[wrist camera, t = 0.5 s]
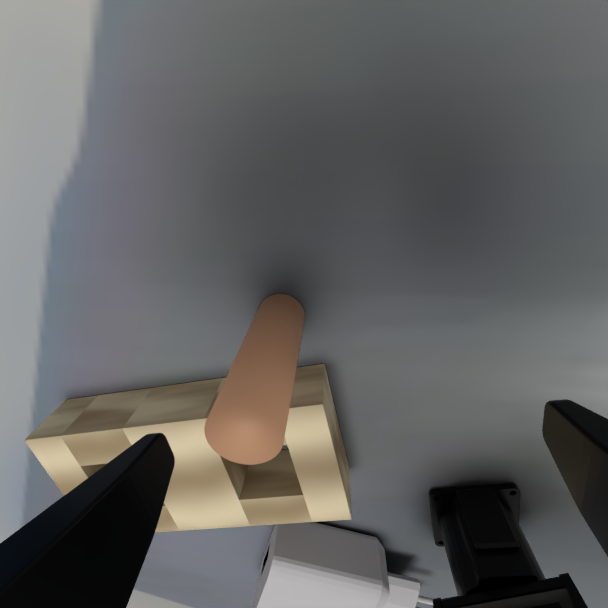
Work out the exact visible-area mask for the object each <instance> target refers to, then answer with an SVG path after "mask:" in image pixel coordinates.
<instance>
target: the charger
mask: <svg viewBox="0 0 608 608" xmlns="http://www.w3.org/2000/svg"><path fill="white" fill-rule="evenodd" d="M269 545H270V547H269ZM268 547H269V553H268V558H267V561H266V564H265V566H264V565H263V562H264V559H265V556H266V553H267V550H268ZM419 591H420V583H419V582H418V580H417V579H414V578H410V577H406V576H402V575H398V574H393V573H389V572H387V565H386V557H385V550H384V548H383V546H382V545H381V543H380V542H379V540H378V539H377V538H376V537H373V536H369V535H365V534H361V533H357V532H353V531H349V530H345V529H340V528H336V527H332V526H328V525H324V524H320V523H316V522H304V523H289V524H275V526H274V529H273V532H272V534H271V537H270V540H269V543H268V546H267V549H266V552H265V554H264V557H263V560H262V563H261V567H260V571H259V575H258V581H257V587H256V592H255V598H254V604H253V608H420V607H416V603H417V602H421V603H425V604H430V605H433V599H432V598H428V597H423V596H419Z"/></svg>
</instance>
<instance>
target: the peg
mask: <svg viewBox="0 0 608 608" xmlns="http://www.w3.org/2000/svg"><path fill="white" fill-rule="evenodd" d="M304 321H305V313H304V309H303V307H302V305H301V304H300V303H299V302H298V301H297V300H296V299H295V298H293V297H291V296H289V295H285V294H274V295H271V296H269V297H267V298H266V299H264V300H263V301H262V303H261V304H260V306H259V308H258V310H257V313H256V315H255V317H254V319H253V321H252V323H251V326H250V328H249V330H248V332H247V334H246V336H245V338H244V341H243V343H242V345H241V347H240V349H239V351H238V353H237V356H236V358H235V360H234V362H233V364H232V366H231V369H230V371H229V373H228V375H227V377H226V379H225V381H224V384H223V386H222V388H221V390H220V392H219V394H218V397H217V399H216V401H215V403H214V405H213V407H212V409H211V412H210V414H209V416H208V418H207V420H206V423H205V427H204V433H205V437H206V440H207V442H208V444H209V445H210V446H211V448H212V449H213V450H214V451H215V452H216V453H217V454H219V455H220V456H222V457H223V458H225V459H227V460H229V461H232V462H235V463H239V464H245V465H255V464H261V463H265V462H267V461H269V460H271V459H273V458H274V457H276V456H277V455H278V453H279V452H280V451H281V449H282V447H283V443H284V437H285V431H286V425H287V420H288V414H289V408H290V402H291V396H292V391H293V385H294V379H295V373H296V367H297V361H298V356H299V350H300V344H301V338H302V332H303V327H304Z"/></svg>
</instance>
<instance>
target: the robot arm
mask: <svg viewBox="0 0 608 608" xmlns="http://www.w3.org/2000/svg"><path fill="white" fill-rule="evenodd" d="M542 431H543V437H544V440H545V442H546V444H547V446H548V448H549V450H550V452H551V454H552V457H553V459H554V461H555V463H556V465H557V467H558V469H559V471H560V473H561V475H562V477H563V479H564V481H565V483H566V485H567V487H568V489H569V491H570V493H571V495H572V497H573V499H574V501H575V503H576V505H577V507H578V509H579V510H580V512H581V514H582V516H583V517H584V519H585V521H586V522H587V524H588V526H589V527H590V529H591V531H592V532H593V534H594V535H595V537H596V539H597V540H598V542H599V544H600V545H601V547H602V548H603V550H604V552H605V553H606V555H607V556H608V419H606V418H605V417H603V416H601V415H599V414H597V413H595V412H593V411H591V410H589V409H587V408H585V407H583V406H581V405H579V404H577V403H575V402H573V401H570V400H553V401H548V402H547V403H546V405H545V410H544V419H543V430H542ZM174 465H175V458H174V454H173V452H172V450H171V447H170V445H169V443H168V440H167V438H166V436H165V435H164V434H163V433H151V434H147V435H145V436H143V437H142V438H141V439H139V440H138V441H137V442H135V443H134V444H133V445H131V446H130V447H129V448H127V449H126V450H125V451H123V452H122V453H121V454H119V455H118V456H117V457H115V458H114V459H113V460H111V461H110V462H109V463H107V464H106V465H105V466H103V467H102V468H101V469H99V470H98V471H97V472H95V473H94V474H93V475H91V476H90V477H89V478H87V479H86V480H85V481H83V482H82V483H81V484H79V485H78V486H77V487H75V488H74V489H73V490H71V491H70V492H69V493H67V494H66V495H65V496H63V497H62V498H60V499H59V500H58V501H56V502H55V503H54V504H52V505H51V506H50V507H48V508H47V509H46V510H44V511H43V512H42V513H40V514H39V515H38V516H36V517H35V518H34V519H32V520H31V521H30V522H28V523H27V524H26V525H24V526H23V527H22V528H20V529H19V530H18V531H16V532H15V533H14V534H13V535H11V536H10V537H9V538H7V539H6V540H4V541H3V542H2V543H0V608H126V606H127V604H128V601H129V598H130V596H131V594H132V591H133V588H134V586H135V583H136V581H137V578H138V575H139V573H140V570H141V568H142V565H143V562H144V560H145V557H146V555H147V552H148V549H149V547H150V544H151V542H152V539H153V536H154V533H155V531H156V528H157V525H158V521H159V518H160V515H161V511H162V508H163V504H164V501H165V497H166V494H167V490H168V487H169V483H170V480H171V476H172V472H173V469H174ZM429 499H430V508H431V517H432V526H433V534H434V541H435V544H436V545H437V546H445V550H446V553H447V557H448V561H449V564H450V568H451V572H452V575H453V579H454V583H455V586H456V590H457V594H458V596H456V597H451V598H445V599H441V598H436V599H433V608H588V607H587V605H586V604H585V602H584V600H583V598H582V597H581V595H580V593H579V591H578V590H577V588H576V586H575V584H574V583H573V581H572V579H571V577H570V576H569V574H568V573H565V574H560V575H559V576H560V577H554V578H549V579H545V577H544V575H543V573H542V571H541V569H540V566H539V564H538V562H537V560H536V558H535V556H534V554H533V552H532V550H531V548H530V546H529V544H528V542H527V540H526V538H525V535H524V533H523V531H522V529H521V527H520V525H519V510H520V490H519V489H518V487H517V485H515V484H500V485H487V486H474V487H460V488H447V489H435V490H432V491H430V492H429Z"/></svg>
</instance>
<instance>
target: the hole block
mask: <svg viewBox="0 0 608 608" xmlns="http://www.w3.org/2000/svg"><path fill="white" fill-rule="evenodd" d="M225 379H226V378H219V379H211V380H204V381H197V382H190V383H183V384H176V385H169V386H161V387H154V388H147V389H140V390H133V391H126V392H118V393H111V394H104V395H97V396H90V397H83V398H75V399H68V400H66V401H65V402H64V403H63V404H62V405H61V406H60V407H59V408H58V409H57V410H55V411H54V412H53V413H52V414H51V415H50V416H49V417H48V418H47V419H46V420H45V421H44V422H43V423H42V424H41V425H40V426H39V427H38V428H37V429H36V430H35V431H33V432H32V433H31V434H30V435H29V436H28V437H27V438H26V439H25V442H26V443H27V445H28V446H29V447H30V449H31V450H32V452H33V453H34V454H35V456H36V457H37V459H38V460H39V461H40V463H41V464H42V465H43V467H44V468H45V470H46V471H47V472H48V474H49V475H50V477H51V478H52V479H53V481H54V482H55V483H56V485H57V486H58V488H59V489H60V490H61V492H62V493H63V495H64V496H65V495H66V494H67V493H69V492H70V491H71V490H73V489H74V488H75V487H77V486H78V485H79V484H81V483H82V482H83V481H85V480H86V479H87V478H89V477H90V476H91V475H93V474H94V473H95V472H97V471H98V470H99V469H101V468H102V467H103V466H105V465H106V464H107V463H109V462H110V461H111V460H113V459H114V458H115V457H117V456H118V455H119V454H121V453H122V452H123V451H125V450H126V449H127V448H129V447H130V446H131V445H133V444H134V443H135V442H137V441H138V440H139V439H141V438H142V437H143V436H145V435H147V434H151V433H163V434H164V435H165V436H166V438H167V440H168V443H169V445H170V447H171V450H172V452H173V454H174V458H175V465H174V469H173V472H172V476H171V480H170V483H169V487H168V490H167V494H166V497H165V501H164V504H163V508H162V511H161V515H160V518H159V521H158V525H157V528H156V531H155V532H166V531H181V530H196V529H212V528H227V527H243V526H258V525H273V524H289V523H304V522H320V521H335V520H351V519H352V516H351V494H350V472H349V466H348V461H347V457H346V453H345V448H344V444H343V440H342V436H341V431H340V427H339V423H338V419H337V414H336V410H335V406H334V402H333V397H332V393H331V389H330V385H329V380H328V376H327V372H326V368H325V364H319V365H312V366H305V367H297V368H296V373H295V379H294V385H293V391H292V396H291V402H290V408H289V414H288V420H287V425H286V431H285V437H284V443H283V445H287V446H288V449H284V450H281V451H280V452H279V453H278V455H277V456H276V457H274V458H273V459H271V460H269V461H267V462H265V463H261V464H255V465H245V464H239V463H235V462H232V461H229V460H227V459H225V458H223V457H222V456H220V455H219V454H217V453H216V452H215V451H214V450H213V449H212V448H211V446H210V445H209V444H208V442H207V440H206V437H205V433H204V427H205V423H206V420H207V418H208V416H209V414H210V412H211V409H212V407H213V405H214V403H215V401H216V399H217V397H218V394H219V392H220V390H221V388H222V386H223V384H224V381H225Z"/></svg>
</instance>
